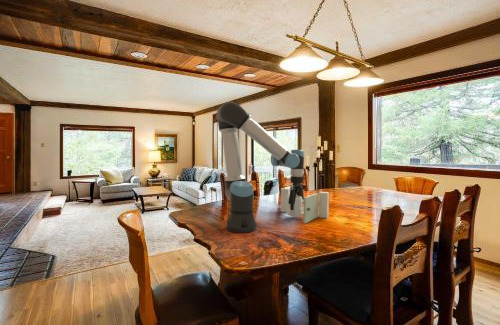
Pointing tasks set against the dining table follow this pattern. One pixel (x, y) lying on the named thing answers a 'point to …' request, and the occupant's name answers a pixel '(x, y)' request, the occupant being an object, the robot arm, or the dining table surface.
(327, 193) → the wall frame
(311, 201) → the door
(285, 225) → the dining table surface
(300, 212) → the mug
